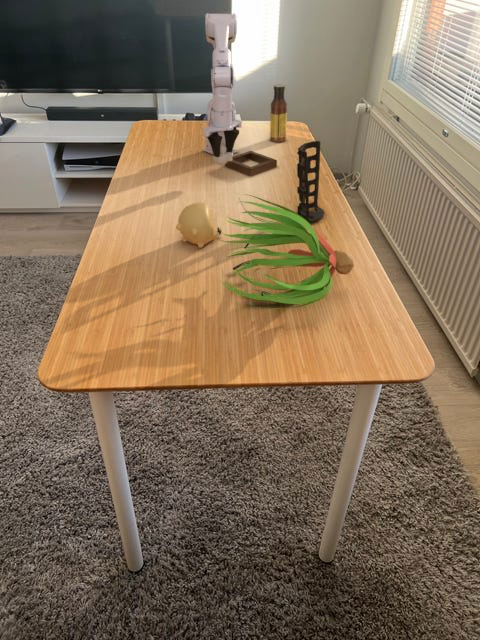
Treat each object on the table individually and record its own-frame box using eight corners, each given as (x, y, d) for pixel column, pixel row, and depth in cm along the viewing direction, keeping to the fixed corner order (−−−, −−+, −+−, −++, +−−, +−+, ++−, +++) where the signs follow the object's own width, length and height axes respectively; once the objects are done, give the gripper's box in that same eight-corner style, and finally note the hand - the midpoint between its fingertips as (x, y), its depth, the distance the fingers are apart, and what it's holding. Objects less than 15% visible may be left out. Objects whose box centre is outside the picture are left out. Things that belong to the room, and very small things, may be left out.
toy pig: (214, 259, 134) (234, 223, 135) (194, 240, 123) (215, 202, 124) (186, 246, 138) (205, 212, 139) (164, 227, 128) (184, 190, 128)
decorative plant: (357, 331, 113) (226, 351, 106) (315, 256, 129) (199, 269, 121) (396, 239, 94) (240, 255, 86) (342, 164, 110) (206, 172, 102)
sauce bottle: (286, 137, 203) (289, 83, 191) (285, 143, 198) (289, 87, 186) (269, 137, 203) (272, 83, 191) (268, 142, 198) (271, 87, 186)
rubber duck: (213, 161, 168) (212, 136, 163) (233, 161, 168) (233, 136, 163) (212, 167, 164) (211, 142, 159) (232, 167, 164) (232, 142, 159)
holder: (322, 225, 142) (323, 152, 130) (295, 224, 144) (293, 153, 132) (325, 208, 151) (326, 139, 139) (299, 208, 152) (298, 140, 141)
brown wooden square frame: (224, 166, 177) (224, 158, 176) (250, 157, 184) (250, 150, 183) (250, 176, 170) (250, 169, 168) (276, 167, 177) (277, 160, 176)
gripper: (213, 117, 149) (214, 163, 158) (248, 108, 158) (247, 152, 166) (197, 112, 153) (199, 157, 162) (232, 103, 162) (232, 146, 170)
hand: (222, 154), depth 164 cm, fingers closed on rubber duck, 5 cm apart
